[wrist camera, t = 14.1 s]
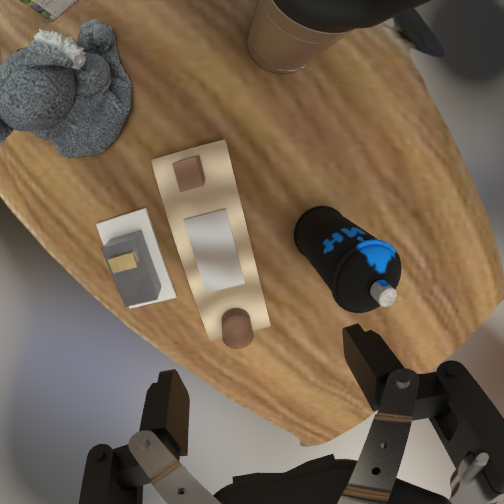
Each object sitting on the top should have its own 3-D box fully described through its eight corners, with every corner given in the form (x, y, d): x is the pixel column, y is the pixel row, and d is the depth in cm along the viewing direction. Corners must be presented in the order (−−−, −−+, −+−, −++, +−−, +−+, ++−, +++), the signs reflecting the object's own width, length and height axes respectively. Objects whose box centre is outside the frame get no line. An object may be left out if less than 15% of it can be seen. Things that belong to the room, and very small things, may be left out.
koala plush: (111, 21, 29) (53, -39, 11) (165, 114, 36) (120, 90, 17) (23, 92, 30) (-63, 83, 12) (68, 183, 37) (-17, 217, 19)
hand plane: (158, 158, 38) (138, 163, 27) (224, 139, 38) (226, 138, 27) (210, 322, 47) (210, 367, 37) (265, 308, 47) (278, 352, 37)
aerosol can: (343, 257, 46) (412, 328, 27) (292, 260, 45) (341, 341, 26) (347, 205, 43) (430, 252, 24) (294, 206, 42) (354, 258, 23)
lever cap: (110, 238, 40) (99, 250, 35) (141, 229, 40) (132, 240, 35) (132, 293, 43) (124, 309, 38) (161, 286, 43) (156, 302, 39)
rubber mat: (98, 222, 39) (96, 224, 39) (147, 207, 40) (145, 208, 39) (130, 305, 44) (129, 308, 44) (177, 295, 45) (176, 297, 44)
